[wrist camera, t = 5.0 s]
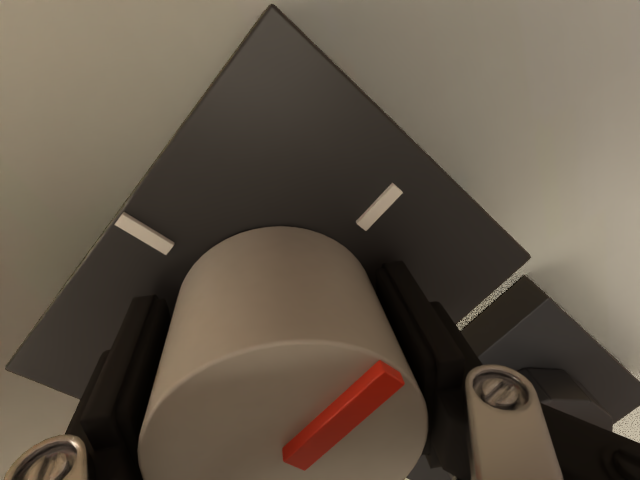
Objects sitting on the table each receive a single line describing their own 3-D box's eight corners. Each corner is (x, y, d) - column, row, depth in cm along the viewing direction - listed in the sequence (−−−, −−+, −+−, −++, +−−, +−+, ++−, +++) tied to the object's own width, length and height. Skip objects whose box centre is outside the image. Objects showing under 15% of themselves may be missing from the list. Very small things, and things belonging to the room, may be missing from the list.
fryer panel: (275, 396, 19) (281, 484, 15) (60, 290, 15) (-2, 374, 11) (471, 206, 16) (536, 260, 12) (265, 9, 12) (272, 1, 8)
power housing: (470, 486, 25) (502, 551, 22) (352, 425, 21) (369, 495, 18) (627, 370, 22) (688, 426, 19) (524, 274, 18) (581, 326, 15)
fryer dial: (290, 408, 14) (306, 575, 10) (136, 331, 12) (69, 507, 7) (410, 295, 12) (492, 434, 8) (261, 183, 10) (267, 294, 6)
